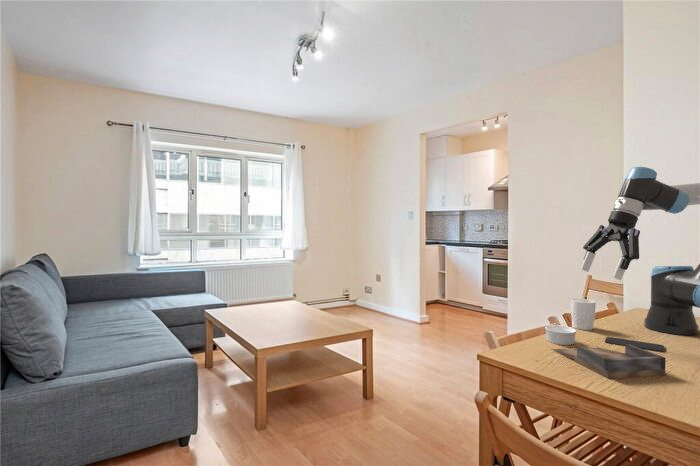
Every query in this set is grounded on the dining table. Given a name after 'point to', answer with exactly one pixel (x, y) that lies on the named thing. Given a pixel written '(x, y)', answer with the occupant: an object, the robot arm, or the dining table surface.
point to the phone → (635, 344)
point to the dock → (617, 361)
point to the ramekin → (560, 334)
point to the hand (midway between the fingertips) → (599, 274)
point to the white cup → (583, 313)
